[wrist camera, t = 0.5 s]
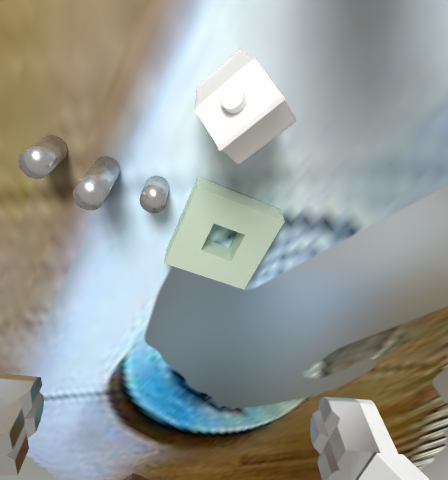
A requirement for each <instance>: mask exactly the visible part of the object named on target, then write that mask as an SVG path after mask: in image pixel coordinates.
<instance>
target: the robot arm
mask: <svg viewBox="0 0 448 480" xmlns="http://www.w3.org/2000/svg"><path fill="white" fill-rule="evenodd" d="M41 387H42V382H41V377H32V376H21V375H10V374H1V373H0V475H18V473H19V470H20V468H21V466H22V463H23V461H24V459H25V456H26V454H27V452H28V449H29V446H28V440H27V439H28V438H29V437H30V436H31V435H33V434H34V433H35V432H36V430H37V428H38V425H39V423H40V420H41V416H42V412H43V405H44V398H43V395H42V394H41V393H40V392H39V391H40V389H41ZM318 405H319V408H320V410H318V411H316V412H315V413H314V414H313V416H312V418H311V423H310V434H311V440H312V444H313V447H314V448H315V449H316V450H317V451H318V452H319V453H320V456H319V458H318V461H317V462H318V466H319V470H320V473H321V477H322V480H429V479H428V478H427V477H426V476H425V475H424V474H423V473H422V472H421V471H420V470H419V469H418V468H417V467H416V466H415V465H414V464H413V463H412V462H410V461H409V460H408V459H407V458H406V457H405V456H404V455H403V454H398V452H397V450H396V448H395V446H394V444H393V442H392V439H391V437H390V435H389V433H388V431H387V429H386V427H385V425H384V423H383V420H382V418H381V416H380V414H379V412H378V410H377V408H376V406H375V404H374V403H373V402H372V401H371V400H364V399H353V398H337V397H323V398H321V400H320V402H319V403H318Z"/></svg>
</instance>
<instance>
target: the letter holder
mask: <svg viewBox="0 0 448 480" xmlns="http://www.w3.org/2000/svg"><path fill="white" fill-rule="evenodd" d="M124 480H148V479H146V478H143V477H141V476H138V475H136V474H132V475H130V476H129V477H127V478H126V479H124Z"/></svg>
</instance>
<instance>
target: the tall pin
mask: <svg viewBox="0 0 448 480" xmlns="http://www.w3.org/2000/svg"><path fill="white" fill-rule="evenodd" d="M119 174H120V166H119V164H118V162H117V161H116V160H115V159H113V158H111V157H107V156H105V157H101V158H99V159H98V160H97V161H96V162H95V164H94V165H93V166H92V167H91V169H90V170H89V171H88V172H87V174H86V175H85V176H84V177H83V179H82V180H81V181H80V182H79V184H78V185H77V186H76V187H75V189H74V191H73V198H74V200H75V202H76V203H77V204H78V205H79V206H80V207H81V208H83V209H86V210H96V209H98V208H99V207H101V205H102V204H103V202H104V200H105V199H106V197H107V195H108V193H109V192H110V190H111V188H112V186H113V185H114V183H115V181H116V179H117V178H118V176H119Z"/></svg>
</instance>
